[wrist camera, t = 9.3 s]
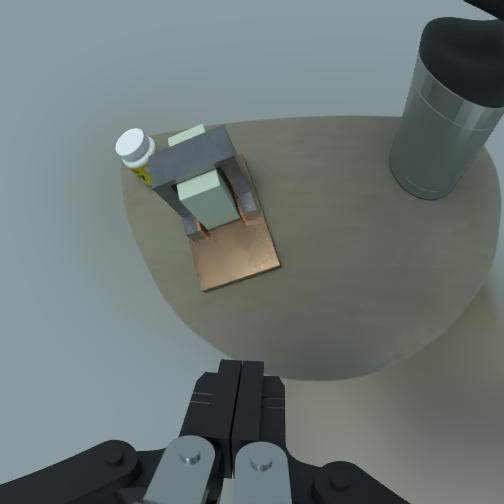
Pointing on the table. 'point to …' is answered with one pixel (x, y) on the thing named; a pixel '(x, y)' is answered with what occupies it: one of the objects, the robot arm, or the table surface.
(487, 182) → the table surface
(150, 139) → the supplement bottle
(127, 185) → the table surface
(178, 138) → the mint green block
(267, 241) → the base
